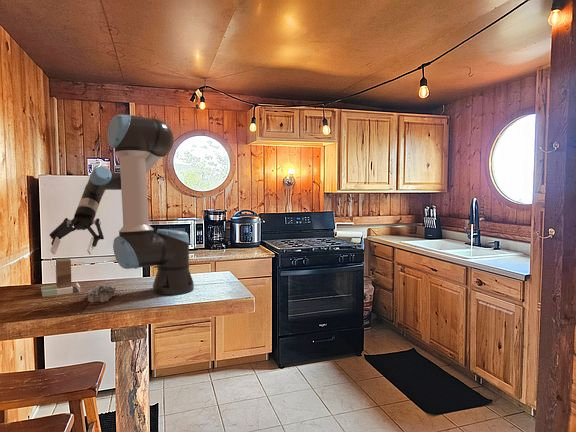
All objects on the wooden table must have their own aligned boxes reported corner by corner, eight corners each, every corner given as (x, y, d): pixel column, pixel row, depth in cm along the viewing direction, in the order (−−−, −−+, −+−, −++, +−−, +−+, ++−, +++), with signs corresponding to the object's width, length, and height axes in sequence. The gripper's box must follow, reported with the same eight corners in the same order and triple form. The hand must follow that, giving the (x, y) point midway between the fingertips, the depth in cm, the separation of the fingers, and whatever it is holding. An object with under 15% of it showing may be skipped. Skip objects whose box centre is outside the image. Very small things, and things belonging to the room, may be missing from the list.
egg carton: (106, 303, 135) (106, 291, 135) (84, 303, 134) (83, 291, 134) (118, 294, 145) (118, 283, 145) (97, 294, 145) (97, 283, 145)
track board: (80, 292, 147) (80, 286, 147) (42, 296, 140) (42, 291, 140) (77, 287, 153) (77, 282, 152) (41, 292, 146) (41, 287, 145)
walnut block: (71, 287, 146) (70, 260, 145) (57, 288, 144) (56, 261, 143) (70, 284, 150) (69, 258, 149) (56, 286, 147) (55, 259, 146)
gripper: (119, 217, 171) (106, 258, 157) (59, 216, 169) (41, 257, 155) (114, 205, 165) (101, 246, 152) (52, 205, 163) (33, 246, 150)
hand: (70, 252), depth 154 cm, fingers open, 13 cm apart
